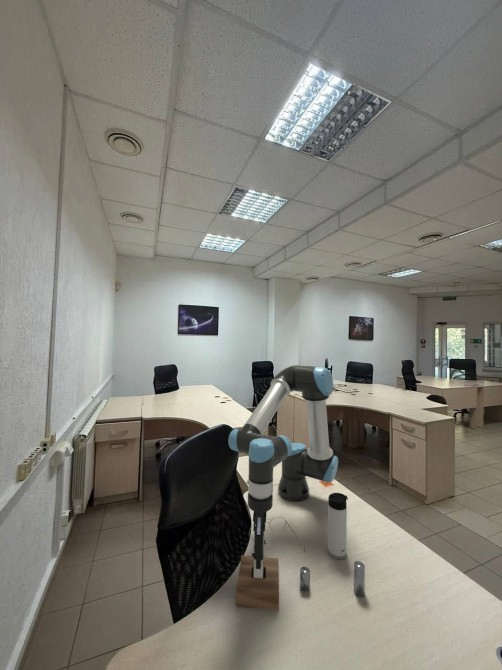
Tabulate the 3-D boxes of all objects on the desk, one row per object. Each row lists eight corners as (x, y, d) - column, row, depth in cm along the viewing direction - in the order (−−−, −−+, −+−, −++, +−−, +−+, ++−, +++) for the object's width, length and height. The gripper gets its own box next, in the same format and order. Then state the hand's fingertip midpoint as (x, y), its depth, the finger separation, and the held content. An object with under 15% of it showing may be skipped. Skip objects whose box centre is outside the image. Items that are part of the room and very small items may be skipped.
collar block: (241, 570, 89) (241, 555, 89) (278, 573, 88) (278, 558, 88) (236, 606, 77) (236, 588, 77) (278, 610, 76) (279, 592, 76)
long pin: (253, 574, 84) (254, 530, 85) (263, 574, 84) (264, 531, 84) (253, 582, 81) (254, 537, 82) (263, 583, 81) (264, 538, 81)
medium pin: (352, 587, 84) (352, 560, 84) (362, 588, 84) (362, 561, 84) (355, 596, 81) (355, 568, 81) (366, 597, 81) (366, 569, 81)
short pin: (299, 582, 85) (299, 566, 85) (309, 583, 85) (309, 567, 85) (300, 591, 82) (300, 574, 82) (310, 592, 82) (310, 575, 82)
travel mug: (348, 561, 94) (348, 502, 94) (328, 557, 95) (328, 499, 95) (346, 547, 100) (346, 492, 100) (327, 544, 101) (327, 489, 101)
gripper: (250, 479, 92) (248, 551, 91) (245, 507, 76) (243, 594, 75) (272, 480, 91) (271, 553, 90) (272, 509, 75) (270, 597, 74)
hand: (258, 572), depth 83 cm, fingers closed on long pin, 3 cm apart
